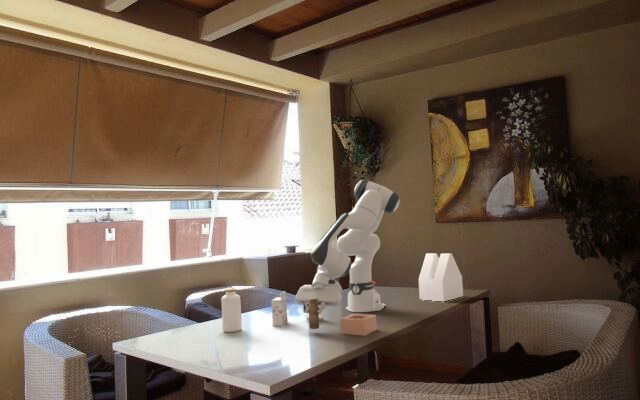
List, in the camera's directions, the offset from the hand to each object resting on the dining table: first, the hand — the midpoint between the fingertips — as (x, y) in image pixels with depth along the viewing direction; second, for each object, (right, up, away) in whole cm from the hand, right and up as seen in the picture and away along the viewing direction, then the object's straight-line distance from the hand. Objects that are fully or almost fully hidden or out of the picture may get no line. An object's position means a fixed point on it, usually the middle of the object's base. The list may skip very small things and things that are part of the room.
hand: (313, 312), depth 203 cm
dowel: (+1, -6, 0) cm, 6 cm away
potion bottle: (-36, -11, +14) cm, 40 cm away
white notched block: (+70, -8, +68) cm, 98 cm away
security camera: (0, -10, +28) cm, 30 cm away
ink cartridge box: (-15, -11, +22) cm, 29 cm away
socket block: (+19, -7, -2) cm, 20 cm away
